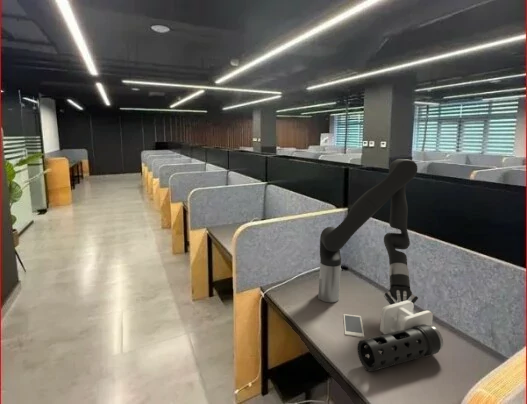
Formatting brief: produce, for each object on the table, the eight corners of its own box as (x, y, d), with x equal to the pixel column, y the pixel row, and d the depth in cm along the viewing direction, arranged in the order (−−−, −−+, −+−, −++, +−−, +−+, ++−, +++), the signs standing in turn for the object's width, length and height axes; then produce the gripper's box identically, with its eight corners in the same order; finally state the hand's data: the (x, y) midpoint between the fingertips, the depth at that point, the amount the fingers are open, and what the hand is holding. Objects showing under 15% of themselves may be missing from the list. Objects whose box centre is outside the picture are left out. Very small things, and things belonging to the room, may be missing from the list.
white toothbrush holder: (400, 350, 108) (404, 320, 106) (378, 333, 117) (380, 305, 115) (430, 340, 114) (434, 311, 112) (406, 324, 123) (409, 297, 121)
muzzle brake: (355, 361, 103) (357, 333, 101) (420, 343, 112) (423, 317, 110) (374, 381, 94) (377, 351, 92) (443, 361, 103) (447, 333, 101)
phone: (344, 336, 116) (344, 333, 116) (343, 316, 130) (343, 313, 130) (364, 339, 115) (364, 336, 115) (360, 318, 128) (360, 315, 128)
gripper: (383, 271, 127) (385, 314, 117) (418, 274, 124) (423, 319, 114) (380, 278, 133) (382, 319, 123) (414, 281, 130) (418, 324, 121)
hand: (402, 319), depth 119 cm, fingers closed
